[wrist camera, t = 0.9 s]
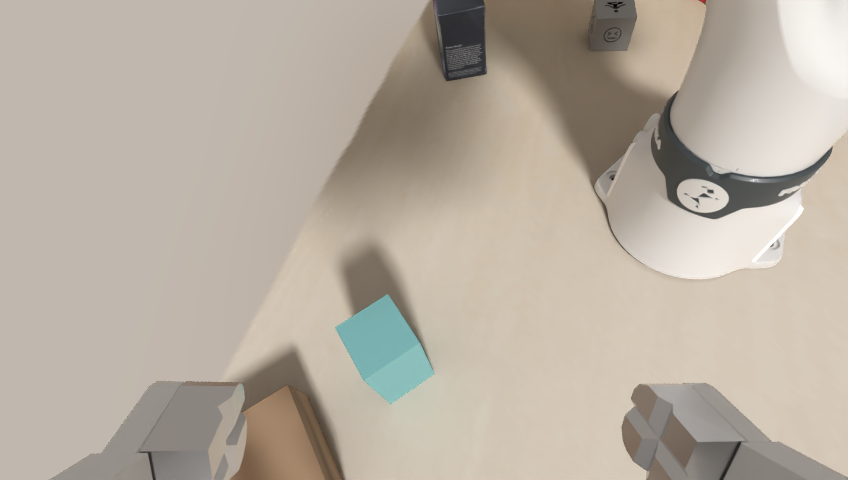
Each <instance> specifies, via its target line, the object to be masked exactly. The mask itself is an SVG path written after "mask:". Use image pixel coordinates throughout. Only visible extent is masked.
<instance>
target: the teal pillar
mask: <svg viewBox="0 0 848 480" xmlns="http://www.w3.org/2000/svg"><path fill="white" fill-rule="evenodd" d="M335 329H336V330H337V332H338V334H339V336H340V338H341V340H342V341H343V343H344V345H345V347H346V349H347V351H348V353H349V354H350V356H351V358H352V360H353V362H354V364H355V365H356V367H357V369H358V371H359V373H360V375H361V377H362V378H363V380H364V381H365V382H366V383H367V384H368V385H369V386H370V387H372V388H373V389H374V390H375V391H376V392H377V393H378V394H380V395H381V396H382V397H383V398H384V399H385V400H387V401H388V402H389V403H390V404H392V403H393V402H395V401H396V400H397V399H399V398H400V397H402V396H403V395H405V394H406V393H408V392H409V391H410V390H412V389H413V388H415V387H416V386H418V385H419V384H421V383H422V382H423V381H425V380H426V379H428V378H429V377H431V376H432V375H434V371H433V369H432V367H431V365H430V363H429V361H428V359H427V357H426V355H425V353H424V351H423V348H422V346H421V344H420V342H419V341H418V339H417V338H416V336H415V335H414V333H413V332H412V330H411V329H410V327H409V325H408V324H407V322H406V321H405V319H404V318H403V316H402V315H401V313H400V312H399V310H398V309H397V307H396V306H395V304H394V302H393V301H392V299H391V298H390V296H389V295H388V294H387V295H385V296H384V297H382V298H381V299H379V300H378V301H376V302H374V303H373V304H371V305H370V306H368V307H367V308H365V309H363V310H362V311H360V312H359V313H357V314H356V315H354V316H352V317H351V318H349V319H348V320H346V321H345V322H343V323H341V324H340V325H338V326H337V327H335Z"/></svg>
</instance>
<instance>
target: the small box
mask: <svg viewBox="0 0 848 480" xmlns="http://www.w3.org/2000/svg"><path fill="white" fill-rule="evenodd" d="M433 5H434V14H435V22H436V30H437V36H438V43H439V49H440V54H441V59H442V65H443V70H444V74H445V78H446V81H450V80H456V79H461V78H467V77H473V76H479V75H484V74H486V73H487V68H486V49H485V48H486V47H485V4H484V1H483V0H433Z"/></svg>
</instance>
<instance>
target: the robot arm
mask: <svg viewBox="0 0 848 480" xmlns="http://www.w3.org/2000/svg"><path fill="white" fill-rule="evenodd" d="M847 131H848V0H706V11H705V18H704V23H703V27H702V31H701V34H700V37H699V40H698V43H697V46H696V49H695V52H694V55H693V57H692V60H691V63H690V65H689V68H688V70H687V73H686V75H685V77H684V80H683V82H682V84H681V87H680V89H679V90H678V91H677V92H676V93H675V94H674V95H673V96H672V97H671V98H670V99H669V101H668V103H667V104H666V106H665V107H664V109H663V110H662V112H661V114H658V113H654V114H653V115H652V116H651V117H650V118H649V120H648V121H647V122H646V124H645V126H644V128H643V131H639V132H638V133H637V135H636V136H635V138H634V140H633V142H634V143H631V145H630V146H629V148H628V150H627V152H626V153H625V154H624V155H623V156H622V157H621V158H620V159H618V160H617V161H616V162H615V163H614V164H613V165H612V166H611V167H610V168H609V169H607V170H606V171H605V172H604V173H603V174H602V175H601V176H600V177H599V178H598V179H597V181H596V183H595V185H594V188H595V191H596V193H597V194H598V196H599V197H600V199H601V200H602V201H603V203H604V204H605V206H606V208H607V212H608V218H609V223H610V226H611V229H612V231H613V233H614V235H615V237H616V238H617V240H618V241H619V243H620V244H621V245H622V246H623V247H624V249H625V250H626V251H627V252H628V253H630V254H631V255H632V256H633V257H634V258H636V259H637V260H638V261H640V262H641V263H643V264H645V265H646V266H648V267H650V268H652V269H654V270H656V271H659V272H661V273H664V274H667V275H671V276H675V277H680V278H687V279H708V278H714V277H719V276H722V275H725V274H728V273H730V272H733V271H735V270H738V269H742V268H769V267H773V266H775V265H776V264H777V263H778V262H779V260H780V259H781V258H782V253H783V244H784V235H785V230H786V229H787V228H788V227H789V226H790V225H791V224H792V223H793V222H794V221H795V220H796V219H797V218H798V217H799V216H800V214H801V213H802V211H803V207H802V206H801V202H802V187H803V186H804V185H806V184H807V183H808V182H809V181H810V180H811V179H812V178H813V177H814V176H815V175H816V174H817V173H818V172H819V170H820V168H821V167H822V165H823V164H824V163H825V162H826V160H827V159H828V158H829V156H830V154H831V152H832V148H833V145H834V144H835V143H836V142H837V141H838V140H839V139H840V138H841V137H842V136H843V135H844V134H845V133H846V132H847ZM611 179H614V180H611ZM631 400H632V402H633V404H634V407H633V408H632V409H631V410H630V411H629V412H628V413H627V414H626V415H625V417H624V421H623V424H622V437H623V442H624V445H625V447H626V450H627V452H628V454H629V455H630V457H631V458H632V460H633V462H635V463H636V464H638V465H639V466H640V467H642V468H643V469H645V470H646V471H647V474H646V480H848V478H847V477H846V476H844V475H842V474H840V473H838V472H836V471H834V470H832V469H830V468H828V467H826V466H825V465H823V464H821V463H819V462H817V461H815V460H813V459H811V458H809V457H807V456H805V455H803V454H802V453H800V452H798V451H796V450H794V449H792V448H790V447H788V446H786V445H784V444H782V443H781V442H772V441H771V440H770V439H769V438H768V437H767V436H766V435H765V434H763V433H762V432H761V431H760V430H759V429H758V428H757V427H756V426H755V425H754V424H753V423H752V422H751V421H750V420H749V419H747V418H746V417H745V416H744V415H743V414H742V413H741V412H740V411H739V410H738V409H737V408H736V407H735V406H734V405H733V404H731V403H730V402H729V401H728V400H727V399H726V398H725V397H724V396H723V395H722V394H721V393H720V392H719V391H718V390H717V389H715V388H714V387H713V386H711V385H709V384H706V383H683V384H639V385H638V386H637V387H636V388H635V389H634V391H633V394H632V397H631ZM244 401H245V395H244V387H243V385H242V384H241V383H232V382H192V381H186V382H172V381H157V382H156V383H153V384H152V385H150V386H149V387H148V389H147V391H146V392H145V393H144V394H143V396H142V397H141V399H140V400H139V401H138V403H137V404H136V406H135V407H134V408H133V410H132V411H131V413H130V414H129V415H128V417H127V418H126V420H125V421H124V422H123V424H122V425H121V427H120V428H119V429H118V431H117V432H116V434H115V435H114V436H113V438H112V439H111V440H110V442H109V443H108V445H107V446H106V447H105V449H104V450H103V452H102V453H101V454H90V455H89V456H87V457H85V458H84V459H82V460H81V461H79V462H77V463H76V464H74V465H72V466H71V467H69V468H68V469H66V470H64V471H63V472H61V473H60V474H58V475H56V476H55V477H53V478H51V479H50V480H230V478H231V477H232V476H233V475H234V474H236V473H237V472H238V471H239V468H240V465H241V462H242V459H243V455H244V450H245V445H246V438H247V419H246V417H245V416H244V415H243V414H242V413H241V412H240V411H241V408H242V406H243V403H244Z"/></svg>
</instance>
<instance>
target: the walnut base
mask: <svg viewBox="0 0 848 480" xmlns="http://www.w3.org/2000/svg"><path fill="white" fill-rule="evenodd" d="M242 414H243V415H244V416H245V417H246V419H247V438H246V445H245V450H244V455H243V459H242V462H241V465H240V468H239V471H238V472H237V473H236V474H234V475H233V476H232V477H231V478H230V480H342V477H341V475H340V473H339V470H338V468H337V465H336V463H335V461H334V458H333V456H332V454H331V451H330V449H329V446H328V444H327V442H326V439H325V437H324V435H323V432H322V430H321V427H320V425H319V423H318V420H317V418H316V415H315V413H314V411H313V408H312V406H311V404H310V401H309V399H308V396H307V395H306V394H304V393H302V392H300V391H298V390H296V389H294V388H293V387H291V386H289V385H286V386H285V387H283V388H281V389H280V390H278V391H276V392H275V393H273V394H272V395H270V396H268V397H267V398H265V399H263V400H262V401H260V402H259V403H257V404H255V405H254V406H252V407H250V408H249V409H247V410H246V411H244V412H242Z"/></svg>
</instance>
